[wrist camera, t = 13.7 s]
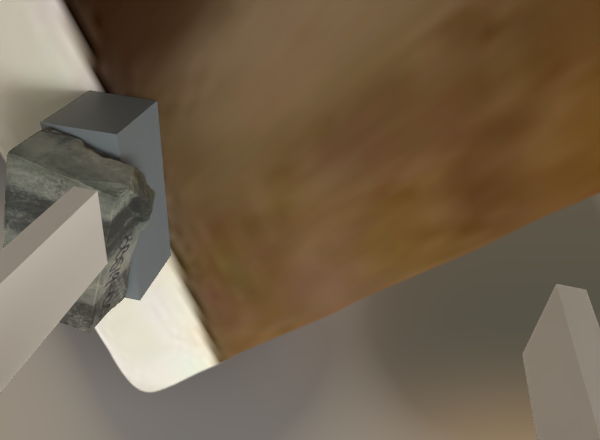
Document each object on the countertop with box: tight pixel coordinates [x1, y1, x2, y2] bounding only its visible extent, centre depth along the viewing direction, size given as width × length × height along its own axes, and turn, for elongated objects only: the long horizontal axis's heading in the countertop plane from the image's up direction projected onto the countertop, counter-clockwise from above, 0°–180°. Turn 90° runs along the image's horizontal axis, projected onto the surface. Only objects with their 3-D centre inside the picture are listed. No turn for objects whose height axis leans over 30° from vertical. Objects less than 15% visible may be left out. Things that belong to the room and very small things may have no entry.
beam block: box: [41, 91, 171, 300], centre depth 46 cm, size 16×6×7 cm, turn 176°
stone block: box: [3, 127, 156, 332], centre depth 41 cm, size 9×14×5 cm, turn 160°
